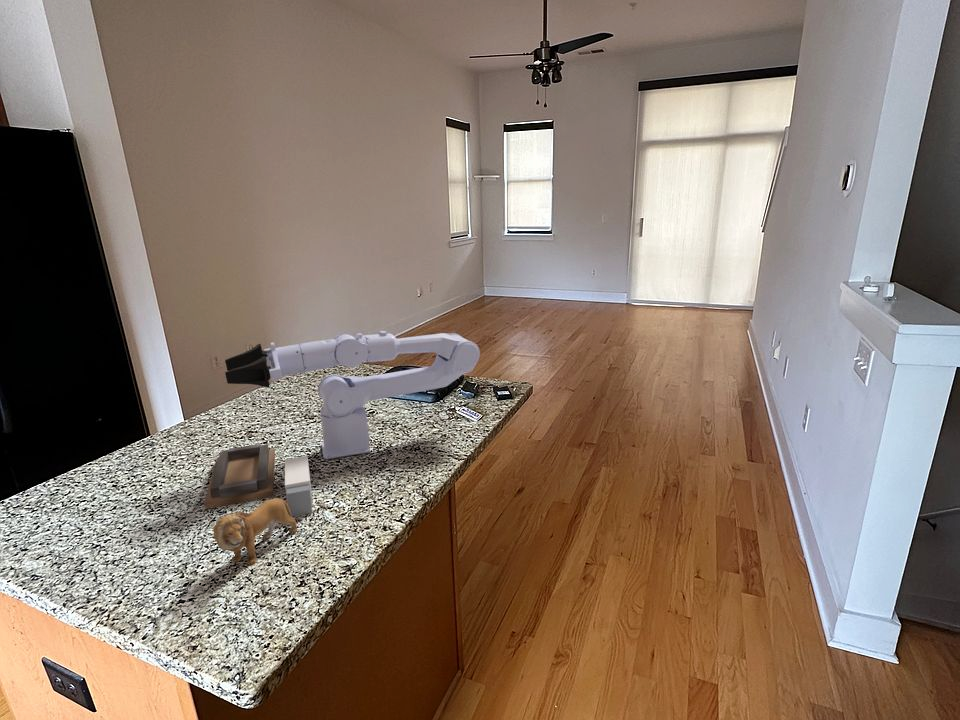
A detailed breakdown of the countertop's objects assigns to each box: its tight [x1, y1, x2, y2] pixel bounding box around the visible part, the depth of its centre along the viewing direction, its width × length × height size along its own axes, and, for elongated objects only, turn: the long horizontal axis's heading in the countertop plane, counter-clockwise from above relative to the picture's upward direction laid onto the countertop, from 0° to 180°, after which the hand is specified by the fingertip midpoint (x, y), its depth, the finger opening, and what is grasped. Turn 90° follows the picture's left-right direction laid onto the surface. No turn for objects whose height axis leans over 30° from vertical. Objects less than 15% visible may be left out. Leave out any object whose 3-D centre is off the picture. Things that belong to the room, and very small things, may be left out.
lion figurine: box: [212, 498, 298, 565], centre depth 76 cm, size 15×5×9 cm, turn 163°
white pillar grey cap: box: [284, 455, 314, 518], centre depth 91 cm, size 4×12×5 cm, turn 20°
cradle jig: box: [203, 443, 276, 510], centre depth 98 cm, size 11×18×3 cm, turn 20°
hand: (226, 371), depth 96 cm, fingers open, 7 cm apart
